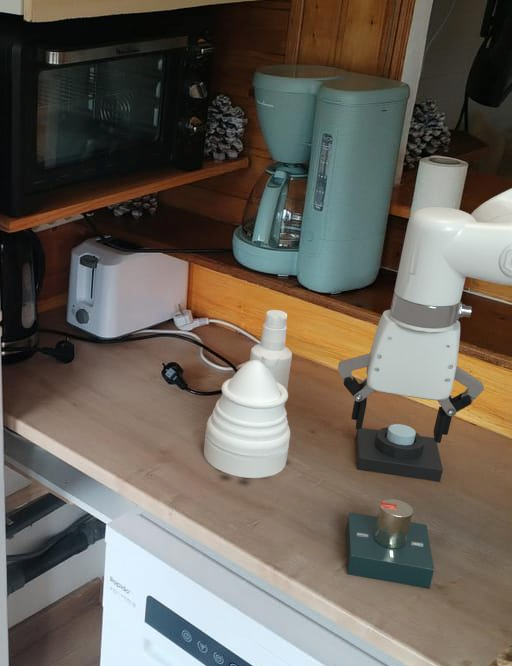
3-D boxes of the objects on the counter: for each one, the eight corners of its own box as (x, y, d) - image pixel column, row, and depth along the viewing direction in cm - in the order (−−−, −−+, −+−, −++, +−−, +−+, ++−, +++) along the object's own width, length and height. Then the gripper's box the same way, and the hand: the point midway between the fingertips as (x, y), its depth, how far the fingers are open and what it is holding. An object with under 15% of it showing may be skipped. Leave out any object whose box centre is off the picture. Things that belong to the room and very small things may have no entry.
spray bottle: (257, 396, 162) (270, 302, 154) (291, 409, 158) (306, 313, 150) (236, 408, 158) (247, 313, 150) (270, 422, 153) (283, 324, 145)
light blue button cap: (412, 435, 142) (414, 426, 142) (414, 448, 139) (416, 438, 138) (385, 432, 143) (387, 422, 143) (387, 444, 140) (389, 434, 139)
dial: (404, 533, 120) (412, 499, 118) (407, 550, 117) (415, 516, 114) (373, 528, 121) (380, 494, 119) (374, 545, 118) (381, 511, 115)
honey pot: (295, 448, 146) (311, 346, 138) (274, 486, 136) (290, 379, 128) (217, 428, 151) (229, 329, 143) (192, 464, 141) (203, 360, 133)
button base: (433, 449, 146) (438, 428, 144) (439, 482, 137) (445, 459, 135) (355, 438, 149) (359, 417, 147) (356, 469, 140) (361, 447, 138)
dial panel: (422, 542, 123) (426, 523, 122) (429, 588, 115) (434, 568, 113) (345, 530, 126) (349, 511, 124) (347, 574, 117) (351, 554, 116)
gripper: (497, 308, 111) (466, 429, 119) (350, 290, 117) (329, 407, 124) (504, 331, 105) (471, 457, 113) (348, 310, 110) (327, 432, 118)
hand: (397, 431), depth 118 cm, fingers open, 9 cm apart
